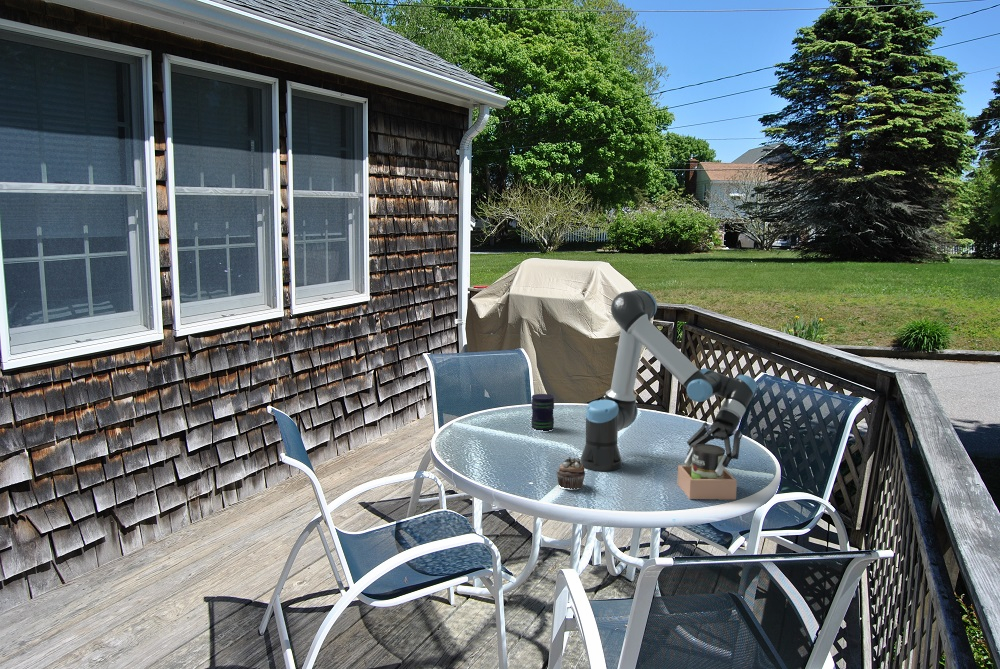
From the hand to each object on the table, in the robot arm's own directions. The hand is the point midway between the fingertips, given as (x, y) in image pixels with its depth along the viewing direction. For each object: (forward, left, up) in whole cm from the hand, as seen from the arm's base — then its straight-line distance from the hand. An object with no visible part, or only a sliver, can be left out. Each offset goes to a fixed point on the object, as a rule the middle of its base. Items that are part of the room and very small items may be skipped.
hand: (701, 469), depth 232 cm
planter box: (+2, +2, -8) cm, 9 cm away
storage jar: (-46, +79, -8) cm, 92 cm away
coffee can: (+2, +2, -8) cm, 8 cm away
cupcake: (-42, +7, -8) cm, 44 cm away
